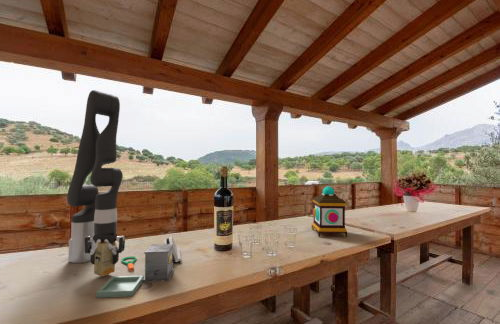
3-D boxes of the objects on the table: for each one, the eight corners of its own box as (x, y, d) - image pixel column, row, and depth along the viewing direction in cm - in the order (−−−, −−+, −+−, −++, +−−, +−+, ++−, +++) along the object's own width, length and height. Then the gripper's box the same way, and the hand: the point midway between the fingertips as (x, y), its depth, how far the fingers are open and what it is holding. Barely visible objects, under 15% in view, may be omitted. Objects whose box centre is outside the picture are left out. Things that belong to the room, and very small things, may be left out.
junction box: (142, 282, 88) (142, 252, 88) (150, 270, 97) (150, 244, 97) (168, 281, 89) (168, 252, 89) (174, 270, 98) (174, 243, 98)
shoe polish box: (107, 268, 96) (108, 238, 96) (114, 271, 93) (115, 240, 93) (94, 273, 91) (94, 241, 91) (101, 276, 89) (101, 243, 89)
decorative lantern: (350, 238, 143) (350, 187, 144) (316, 238, 143) (317, 187, 144) (338, 229, 163) (338, 185, 164) (309, 229, 163) (309, 184, 164)
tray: (96, 297, 77) (96, 292, 77) (112, 281, 88) (112, 276, 88) (132, 296, 78) (132, 290, 78) (143, 280, 89) (144, 275, 89)
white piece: (182, 263, 105) (174, 242, 104) (171, 268, 104) (163, 246, 103) (180, 250, 121) (173, 231, 120) (170, 254, 119) (163, 236, 118)
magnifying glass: (120, 260, 108) (120, 256, 108) (135, 258, 111) (135, 254, 112) (122, 273, 95) (122, 269, 95) (139, 270, 98) (139, 266, 98)
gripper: (79, 222, 88) (78, 268, 88) (120, 222, 89) (119, 267, 89) (91, 217, 95) (90, 260, 95) (129, 218, 97) (128, 259, 97)
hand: (104, 263), depth 92 cm, fingers closed on shoe polish box, 7 cm apart
